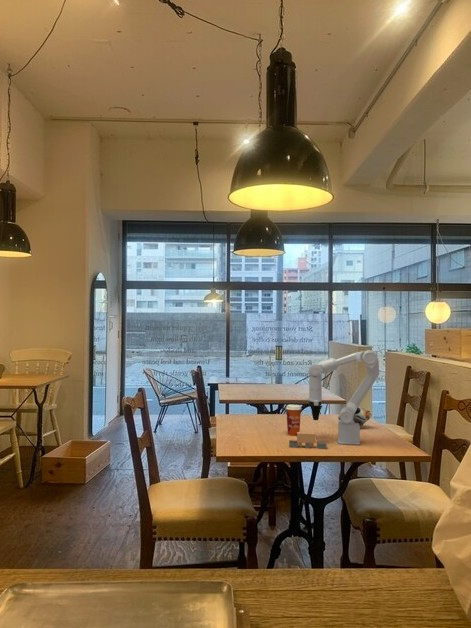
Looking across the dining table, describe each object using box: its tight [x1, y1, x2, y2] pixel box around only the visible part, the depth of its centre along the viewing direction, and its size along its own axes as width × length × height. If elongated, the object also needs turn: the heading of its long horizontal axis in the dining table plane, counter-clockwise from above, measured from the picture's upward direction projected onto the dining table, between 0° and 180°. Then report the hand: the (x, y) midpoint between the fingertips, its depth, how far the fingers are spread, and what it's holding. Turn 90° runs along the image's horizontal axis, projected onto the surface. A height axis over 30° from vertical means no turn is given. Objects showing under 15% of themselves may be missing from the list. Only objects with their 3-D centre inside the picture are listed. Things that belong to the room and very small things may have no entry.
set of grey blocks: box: [288, 439, 327, 450], centre depth 190 cm, size 16×4×2 cm, turn 82°
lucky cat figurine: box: [337, 406, 373, 428], centre depth 230 cm, size 15×12×14 cm
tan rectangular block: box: [296, 431, 317, 448], centre depth 190 cm, size 8×3×6 cm, turn 82°
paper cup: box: [285, 404, 302, 437], centre depth 213 cm, size 8×8×14 cm
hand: (315, 418), depth 202 cm, fingers open, 7 cm apart
